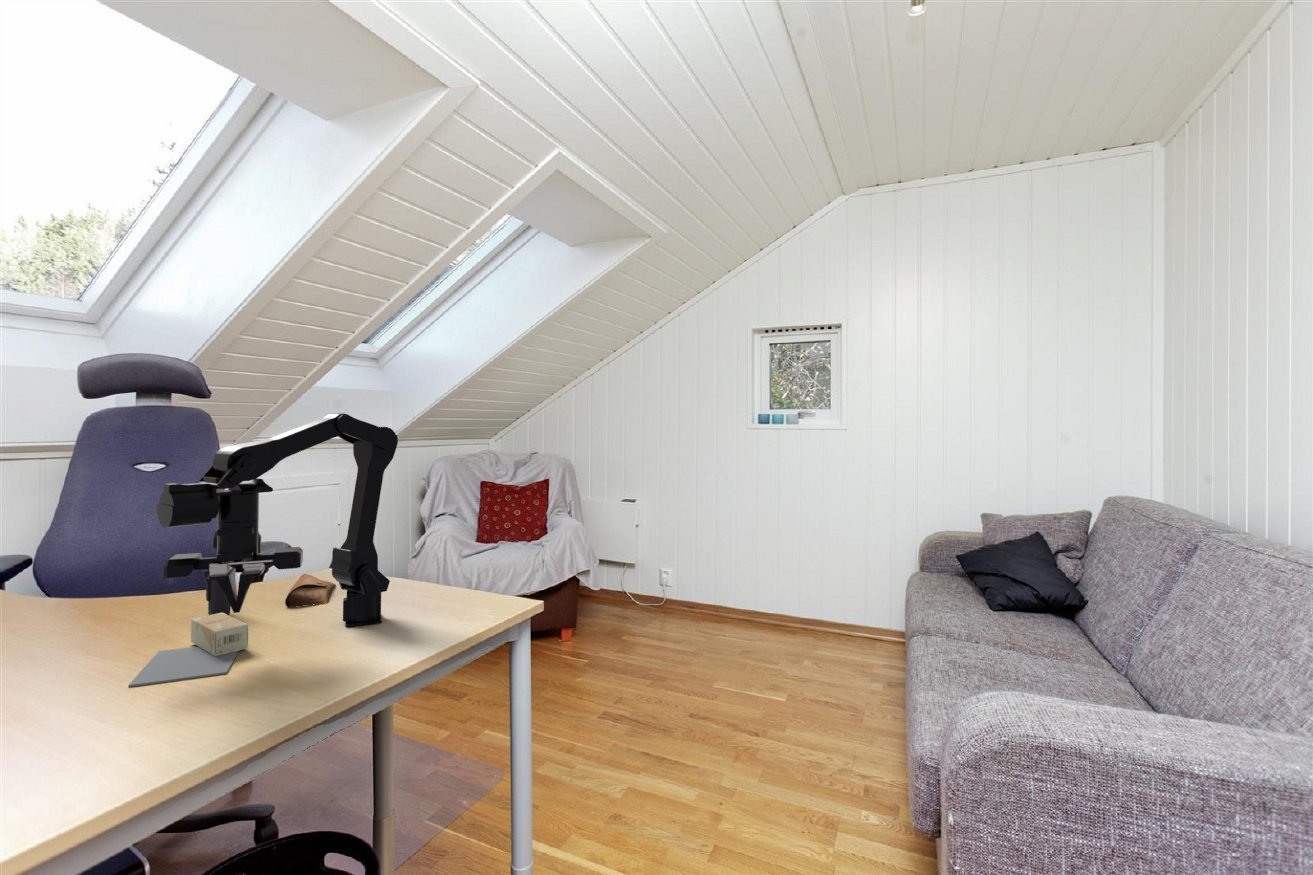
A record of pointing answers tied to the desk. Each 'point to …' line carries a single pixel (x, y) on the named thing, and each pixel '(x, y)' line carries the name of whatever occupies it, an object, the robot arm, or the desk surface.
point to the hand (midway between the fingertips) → (237, 612)
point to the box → (219, 634)
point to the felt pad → (183, 666)
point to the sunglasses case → (309, 592)
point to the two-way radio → (215, 597)
